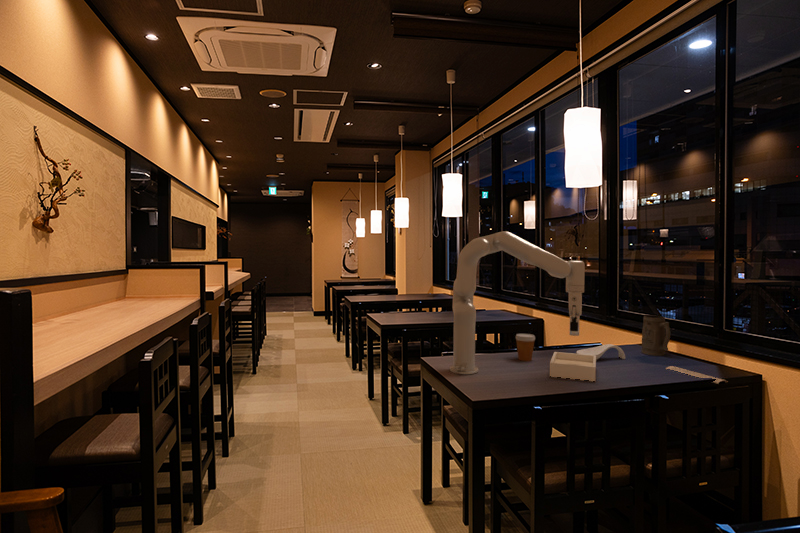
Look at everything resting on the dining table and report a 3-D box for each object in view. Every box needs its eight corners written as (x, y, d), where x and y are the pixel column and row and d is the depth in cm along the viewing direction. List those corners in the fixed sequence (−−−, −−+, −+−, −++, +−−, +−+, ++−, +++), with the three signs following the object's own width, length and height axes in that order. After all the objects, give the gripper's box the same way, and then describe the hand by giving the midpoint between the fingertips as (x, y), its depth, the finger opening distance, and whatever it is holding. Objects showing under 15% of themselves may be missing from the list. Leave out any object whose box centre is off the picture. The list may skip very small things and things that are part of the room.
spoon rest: (583, 363, 221) (584, 348, 221) (571, 357, 233) (572, 342, 232) (629, 361, 224) (630, 347, 224) (615, 355, 236) (615, 341, 235)
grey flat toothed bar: (665, 370, 209) (665, 366, 209) (676, 369, 212) (676, 365, 212) (718, 385, 188) (718, 381, 187) (729, 383, 190) (729, 379, 190)
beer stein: (635, 351, 242) (638, 314, 240) (649, 349, 247) (652, 313, 245) (662, 360, 229) (666, 321, 226) (676, 358, 233) (680, 319, 231)
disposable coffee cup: (537, 362, 221) (537, 337, 221) (517, 361, 222) (517, 337, 221) (532, 357, 231) (532, 333, 230) (513, 357, 231) (513, 333, 231)
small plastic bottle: (579, 336, 200) (579, 313, 200) (569, 335, 202) (569, 312, 201) (579, 334, 204) (579, 312, 203) (569, 333, 205) (570, 311, 205)
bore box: (595, 381, 190) (595, 367, 190) (549, 376, 197) (549, 362, 197) (595, 368, 210) (595, 355, 210) (554, 364, 217) (554, 351, 217)
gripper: (583, 290, 193) (582, 334, 193) (584, 287, 208) (584, 327, 209) (564, 290, 195) (563, 332, 196) (567, 286, 211) (566, 326, 212)
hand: (574, 329), depth 203 cm, fingers closed on small plastic bottle, 4 cm apart
